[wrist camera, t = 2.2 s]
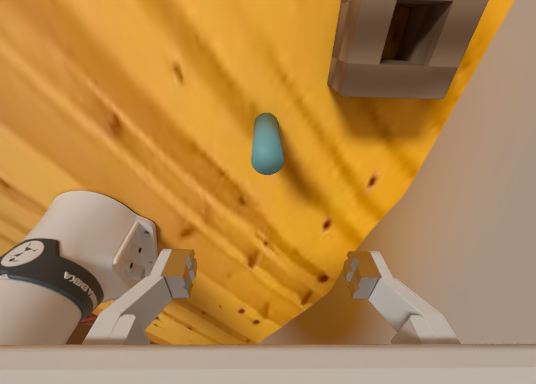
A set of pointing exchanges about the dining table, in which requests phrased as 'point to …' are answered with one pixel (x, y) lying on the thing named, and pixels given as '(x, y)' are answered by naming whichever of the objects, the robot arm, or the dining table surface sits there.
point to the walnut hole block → (401, 47)
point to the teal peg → (267, 145)
